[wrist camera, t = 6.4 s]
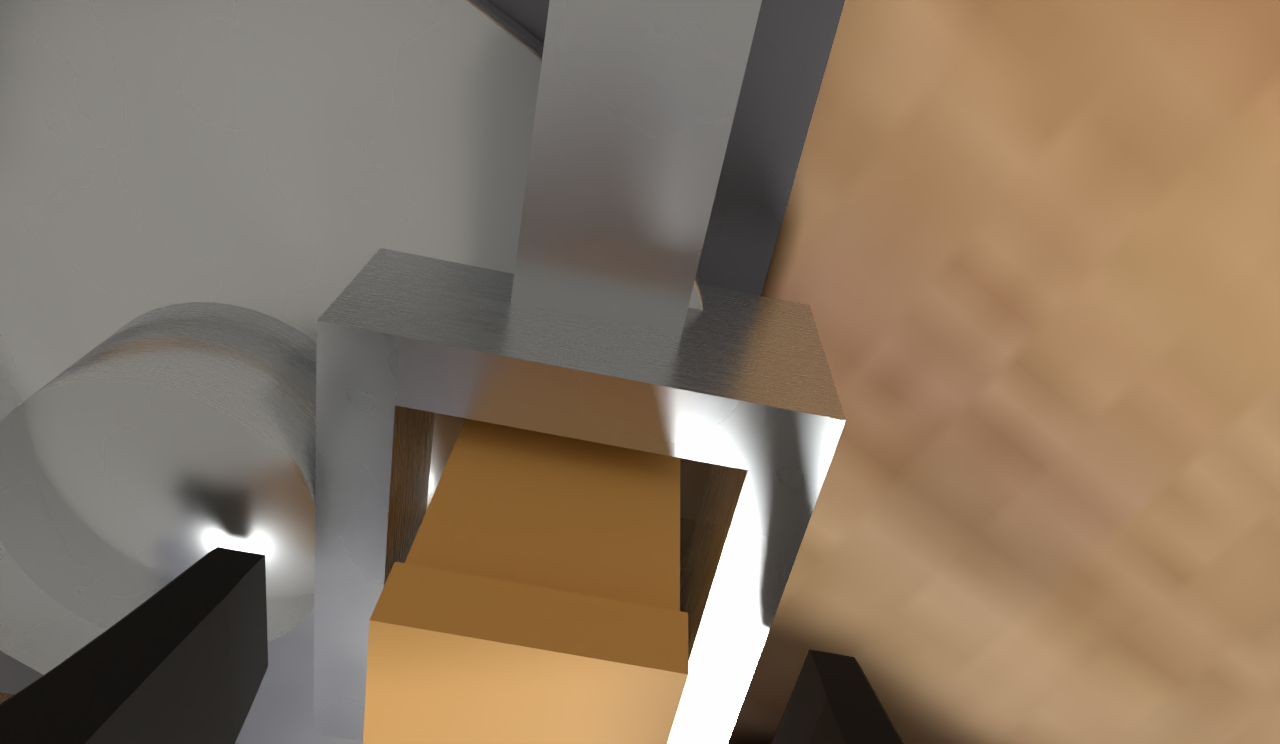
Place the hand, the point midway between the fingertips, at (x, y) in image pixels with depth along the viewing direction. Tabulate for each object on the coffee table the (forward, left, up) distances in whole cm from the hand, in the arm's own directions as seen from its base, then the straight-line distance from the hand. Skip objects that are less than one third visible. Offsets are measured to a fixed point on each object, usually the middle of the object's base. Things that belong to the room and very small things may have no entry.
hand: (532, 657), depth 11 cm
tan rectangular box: (0, 0, -4) cm, 4 cm away
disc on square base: (0, +6, -6) cm, 8 cm away
